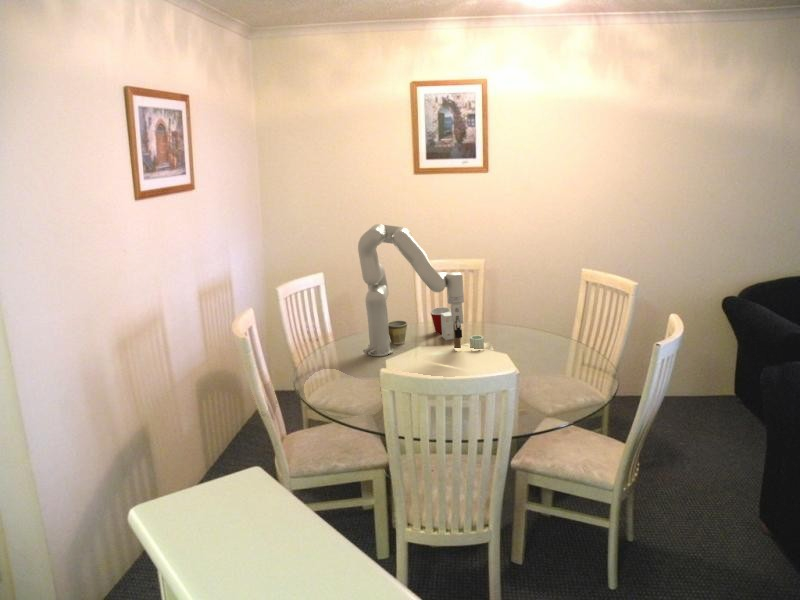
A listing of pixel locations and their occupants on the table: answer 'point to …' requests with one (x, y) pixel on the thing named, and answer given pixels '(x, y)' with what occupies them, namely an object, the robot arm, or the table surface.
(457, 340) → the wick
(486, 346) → the trivet
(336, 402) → the table surface
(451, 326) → the small box
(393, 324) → the ceramic cup
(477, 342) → the jar
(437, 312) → the plastic cup
